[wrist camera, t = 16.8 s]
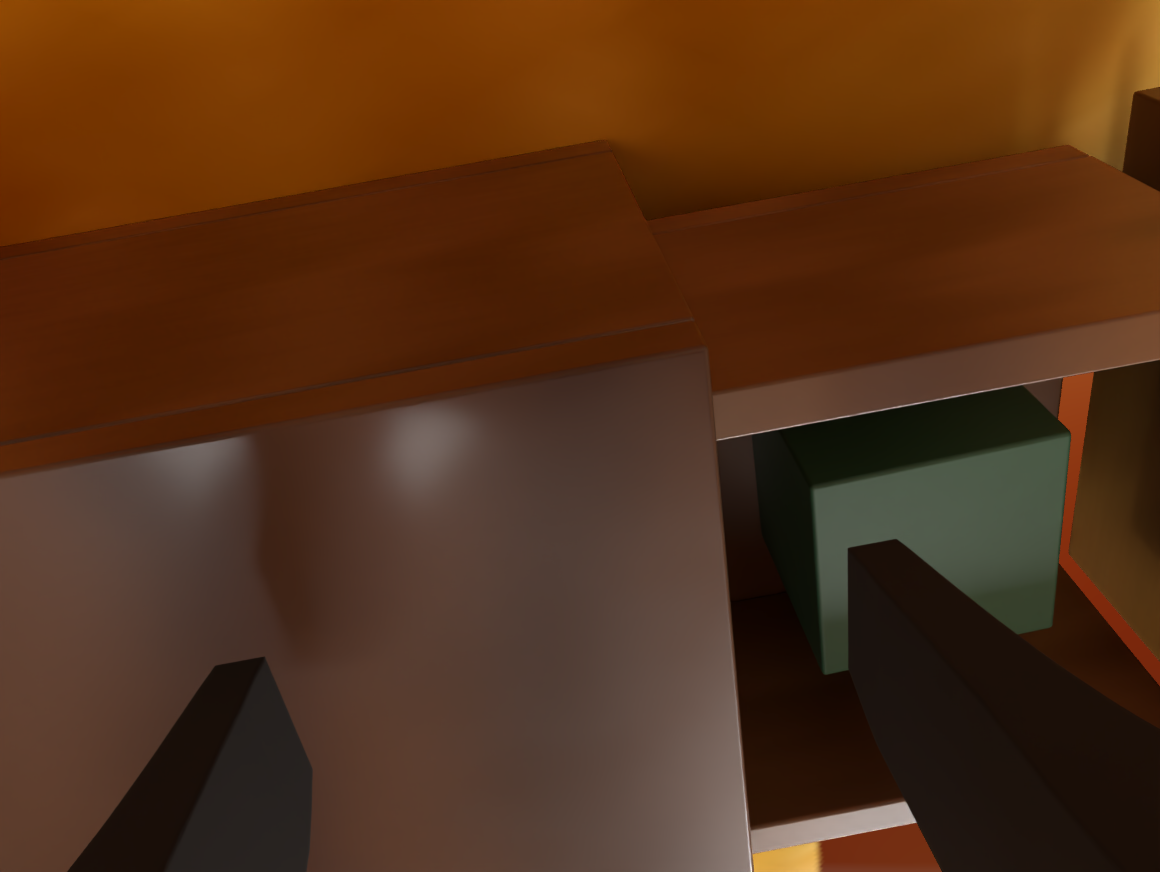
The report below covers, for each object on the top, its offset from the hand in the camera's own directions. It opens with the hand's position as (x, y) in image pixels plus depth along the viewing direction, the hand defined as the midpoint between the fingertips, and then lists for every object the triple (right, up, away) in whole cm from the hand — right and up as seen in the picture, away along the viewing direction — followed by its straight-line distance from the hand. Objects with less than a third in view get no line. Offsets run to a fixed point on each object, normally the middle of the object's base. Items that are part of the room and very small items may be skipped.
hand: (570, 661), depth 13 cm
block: (+6, +3, +9) cm, 11 cm away
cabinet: (-6, +2, +10) cm, 12 cm away
